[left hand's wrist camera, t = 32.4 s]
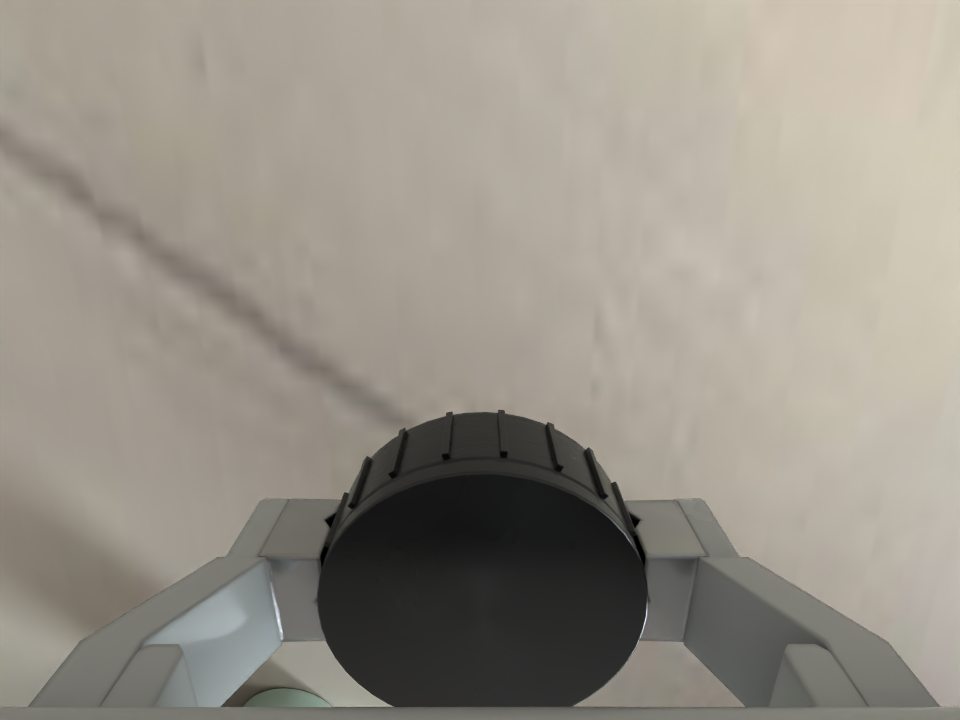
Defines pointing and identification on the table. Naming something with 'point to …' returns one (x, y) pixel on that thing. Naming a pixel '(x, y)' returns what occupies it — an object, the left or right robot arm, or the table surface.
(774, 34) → the table surface
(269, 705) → the green bottle
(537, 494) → the lid
